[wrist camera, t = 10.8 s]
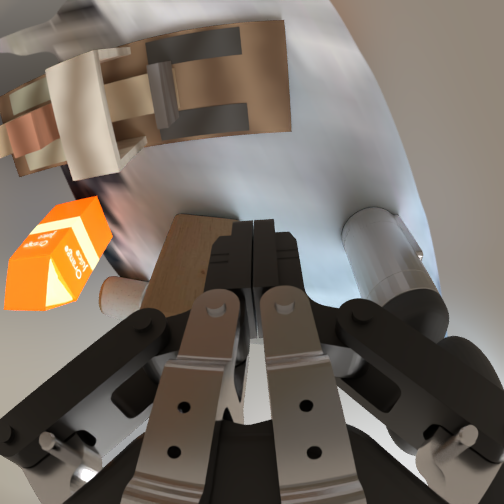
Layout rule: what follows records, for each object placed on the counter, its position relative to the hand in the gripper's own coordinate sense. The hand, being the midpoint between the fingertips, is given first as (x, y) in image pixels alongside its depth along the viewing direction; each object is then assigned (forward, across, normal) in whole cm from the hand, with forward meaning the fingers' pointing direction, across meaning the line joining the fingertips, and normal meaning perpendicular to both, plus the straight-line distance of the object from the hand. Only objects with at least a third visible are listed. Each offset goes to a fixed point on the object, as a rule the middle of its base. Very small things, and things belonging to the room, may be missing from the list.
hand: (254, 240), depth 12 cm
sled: (+27, +28, -3) cm, 39 cm away
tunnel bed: (+29, +17, -4) cm, 34 cm away
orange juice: (+29, +29, +14) cm, 43 cm away
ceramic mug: (+29, +25, +30) cm, 49 cm away
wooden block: (+29, +9, +20) cm, 37 cm away
